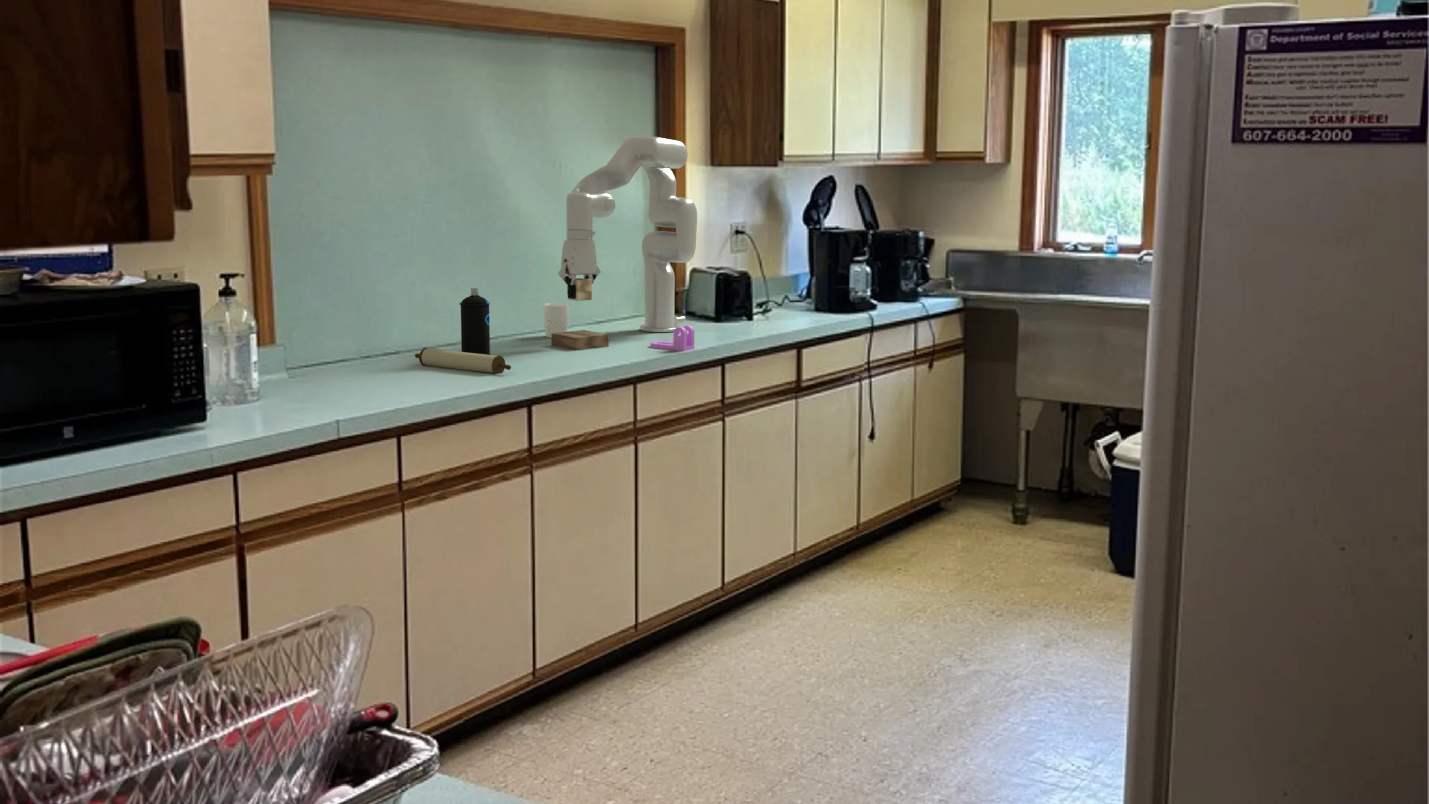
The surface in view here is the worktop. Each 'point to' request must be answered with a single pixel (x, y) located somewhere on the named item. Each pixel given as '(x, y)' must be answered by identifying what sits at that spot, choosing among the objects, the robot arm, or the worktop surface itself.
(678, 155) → the robot arm
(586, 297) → the maple block
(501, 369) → the rolling pin
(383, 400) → the worktop surface
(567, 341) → the base block
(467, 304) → the aerosol can
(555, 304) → the white cup
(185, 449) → the worktop surface
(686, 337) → the bracket
